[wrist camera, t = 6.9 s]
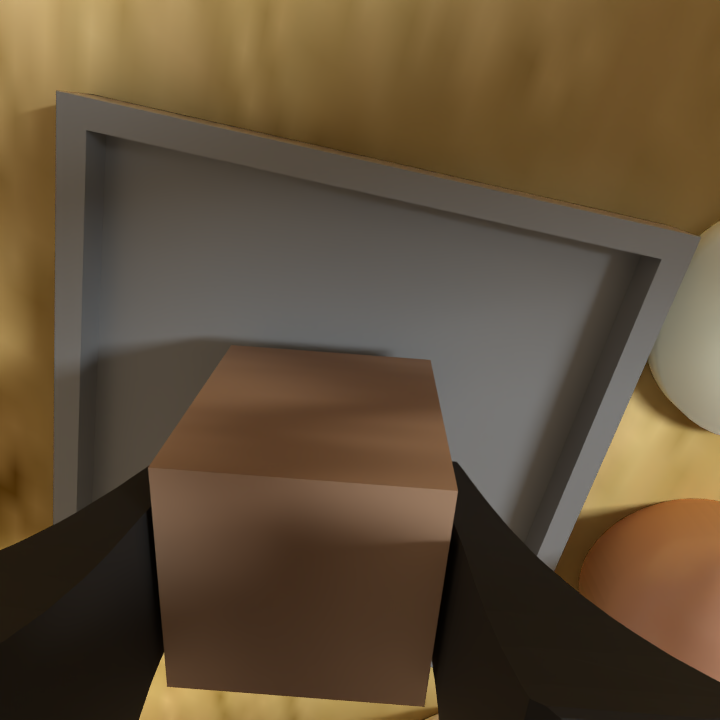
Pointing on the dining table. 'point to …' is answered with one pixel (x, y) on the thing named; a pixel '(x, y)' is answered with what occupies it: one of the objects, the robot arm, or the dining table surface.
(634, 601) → the peach capsule shape
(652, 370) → the white rounded disc
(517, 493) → the tray
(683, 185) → the dining table surface
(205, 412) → the block
